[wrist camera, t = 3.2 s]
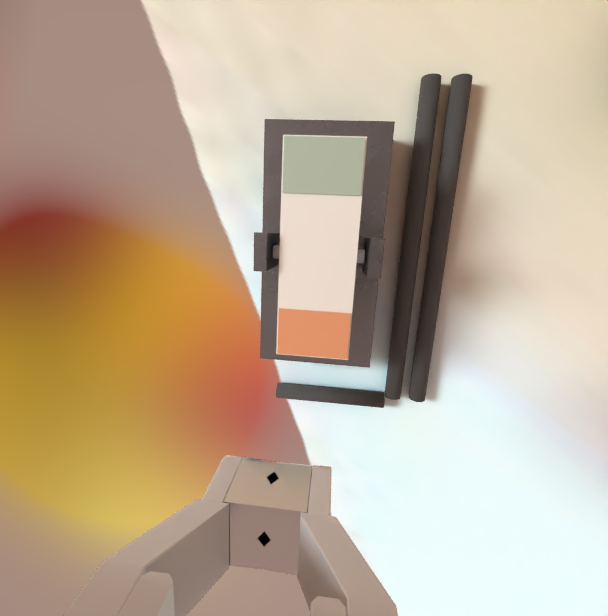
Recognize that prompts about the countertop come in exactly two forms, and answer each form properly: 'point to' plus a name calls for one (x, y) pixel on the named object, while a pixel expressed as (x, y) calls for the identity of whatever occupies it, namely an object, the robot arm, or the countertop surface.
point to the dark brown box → (369, 230)
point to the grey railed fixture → (415, 251)
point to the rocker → (319, 243)
